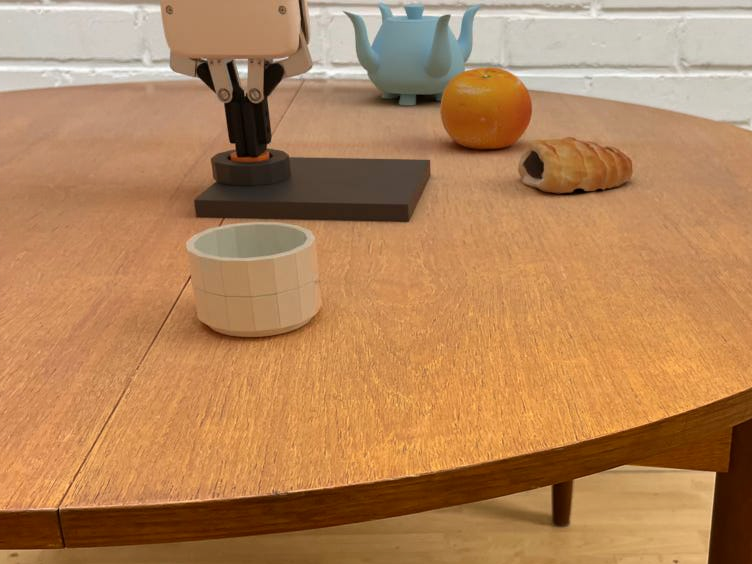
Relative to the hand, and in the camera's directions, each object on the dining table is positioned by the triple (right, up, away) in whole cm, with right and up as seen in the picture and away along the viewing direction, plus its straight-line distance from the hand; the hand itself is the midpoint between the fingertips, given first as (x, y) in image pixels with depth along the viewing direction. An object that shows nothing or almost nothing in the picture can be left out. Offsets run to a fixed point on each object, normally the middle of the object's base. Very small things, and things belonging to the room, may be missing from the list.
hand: (252, 152), depth 76 cm
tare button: (0, -1, +1) cm, 2 cm away
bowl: (+5, -17, -21) cm, 27 cm away
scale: (+5, -3, +1) cm, 6 cm away
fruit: (+19, +6, +17) cm, 26 cm away
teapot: (+10, +19, +39) cm, 45 cm away
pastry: (+26, -1, +4) cm, 26 cm away
